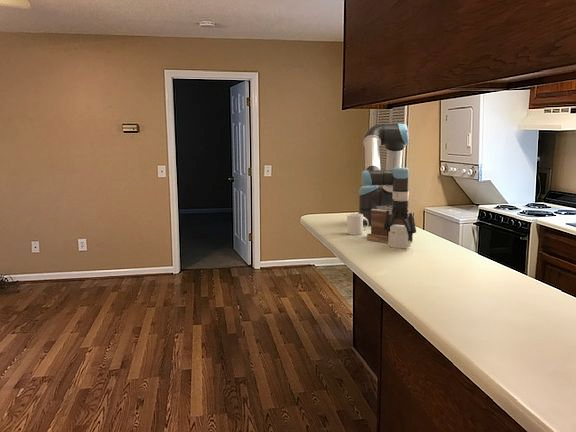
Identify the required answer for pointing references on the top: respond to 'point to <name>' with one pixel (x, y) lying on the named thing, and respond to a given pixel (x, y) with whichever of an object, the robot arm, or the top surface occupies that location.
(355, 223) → the mug
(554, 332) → the top surface
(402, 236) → the small box
